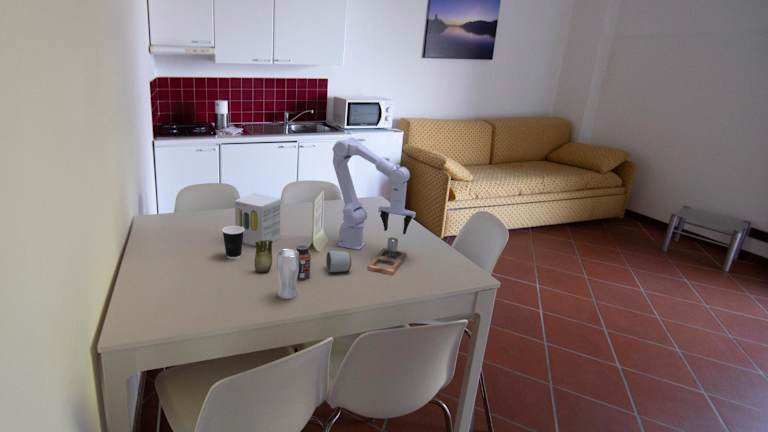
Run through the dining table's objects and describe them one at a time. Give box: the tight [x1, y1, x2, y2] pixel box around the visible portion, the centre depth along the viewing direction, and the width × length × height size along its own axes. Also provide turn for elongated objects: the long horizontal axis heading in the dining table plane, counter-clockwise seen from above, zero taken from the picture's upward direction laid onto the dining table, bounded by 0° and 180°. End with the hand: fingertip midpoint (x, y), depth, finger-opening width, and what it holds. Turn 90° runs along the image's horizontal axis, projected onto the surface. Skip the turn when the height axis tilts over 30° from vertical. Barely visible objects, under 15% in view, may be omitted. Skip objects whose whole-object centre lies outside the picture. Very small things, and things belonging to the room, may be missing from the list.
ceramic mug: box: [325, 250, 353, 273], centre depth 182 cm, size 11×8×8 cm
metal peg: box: [385, 237, 399, 259], centre depth 195 cm, size 4×4×8 cm
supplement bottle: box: [295, 244, 312, 281], centre depth 172 cm, size 6×6×11 cm
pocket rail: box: [366, 247, 408, 276], centre depth 191 cm, size 10×20×2 cm, turn 163°
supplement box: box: [234, 192, 282, 247], centre depth 200 cm, size 13×13×18 cm
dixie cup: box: [221, 225, 244, 260], centre depth 184 cm, size 8×8×11 cm
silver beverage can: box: [276, 248, 299, 300], centre depth 159 cm, size 7×7×15 cm
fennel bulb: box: [253, 240, 273, 273], centre depth 174 cm, size 6×5×12 cm
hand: (395, 231), depth 195 cm, fingers open, 7 cm apart
